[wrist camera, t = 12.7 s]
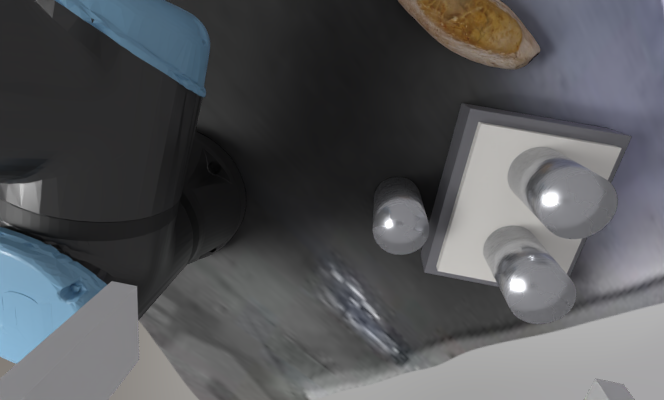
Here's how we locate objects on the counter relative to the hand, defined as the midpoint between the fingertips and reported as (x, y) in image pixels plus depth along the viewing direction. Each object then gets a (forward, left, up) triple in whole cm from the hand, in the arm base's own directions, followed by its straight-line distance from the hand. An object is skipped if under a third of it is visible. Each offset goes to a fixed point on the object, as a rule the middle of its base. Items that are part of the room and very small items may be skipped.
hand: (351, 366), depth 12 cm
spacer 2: (+15, 0, -27) cm, 31 cm away
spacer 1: (+4, -6, -32) cm, 33 cm away
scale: (+15, -4, -32) cm, 35 cm away
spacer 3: (+15, -7, -27) cm, 31 cm away
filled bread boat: (+6, +12, -32) cm, 35 cm away
